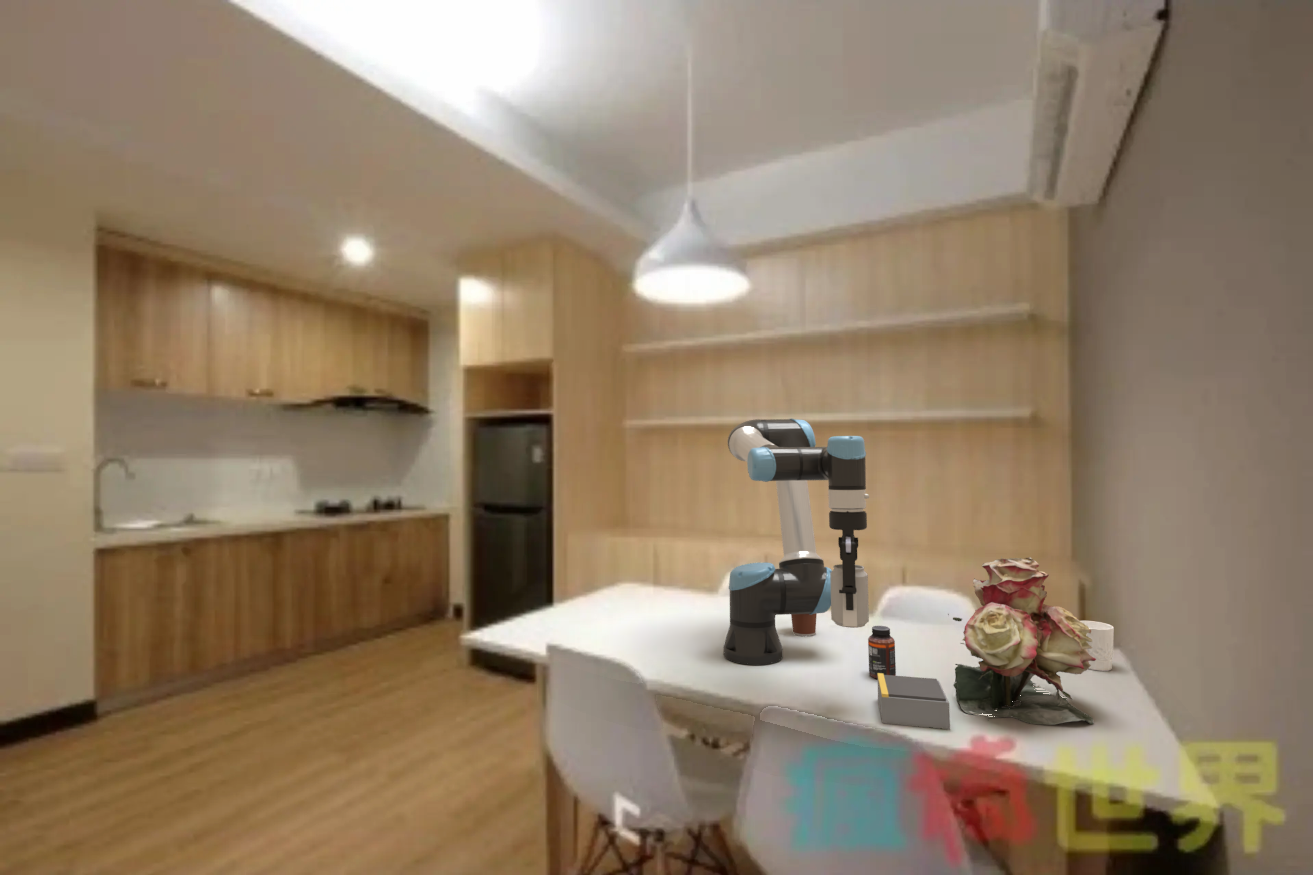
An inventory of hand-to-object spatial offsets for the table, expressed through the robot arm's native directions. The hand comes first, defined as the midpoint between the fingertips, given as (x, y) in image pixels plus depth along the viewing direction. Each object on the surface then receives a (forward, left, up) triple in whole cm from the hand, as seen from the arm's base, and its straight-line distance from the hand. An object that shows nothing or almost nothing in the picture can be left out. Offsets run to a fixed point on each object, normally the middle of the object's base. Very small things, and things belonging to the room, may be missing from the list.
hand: (850, 620), depth 132 cm
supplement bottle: (+7, +20, -18) cm, 28 cm away
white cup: (+57, +39, -18) cm, 72 cm away
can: (0, 0, -1) cm, 1 cm away
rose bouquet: (+34, +10, -18) cm, 40 cm away
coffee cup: (-12, +52, -18) cm, 56 cm away
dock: (+11, -1, -18) cm, 21 cm away
